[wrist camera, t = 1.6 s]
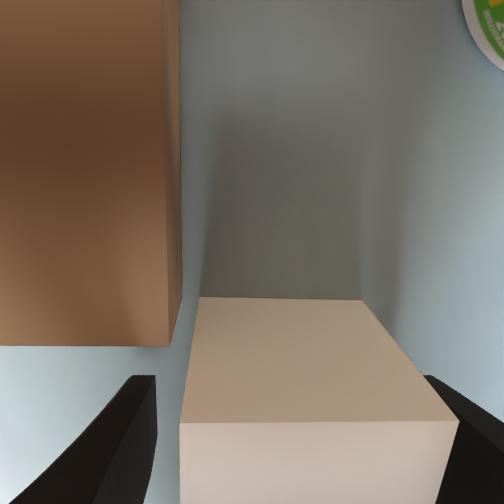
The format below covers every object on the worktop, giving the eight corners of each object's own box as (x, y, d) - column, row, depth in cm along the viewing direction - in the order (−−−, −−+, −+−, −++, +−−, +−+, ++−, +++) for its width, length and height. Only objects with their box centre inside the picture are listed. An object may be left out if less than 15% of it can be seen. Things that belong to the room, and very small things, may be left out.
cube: (340, 427, 13) (406, 599, 8) (197, 428, 12) (180, 611, 8) (361, 299, 11) (459, 421, 7) (199, 295, 11) (179, 423, 6)
